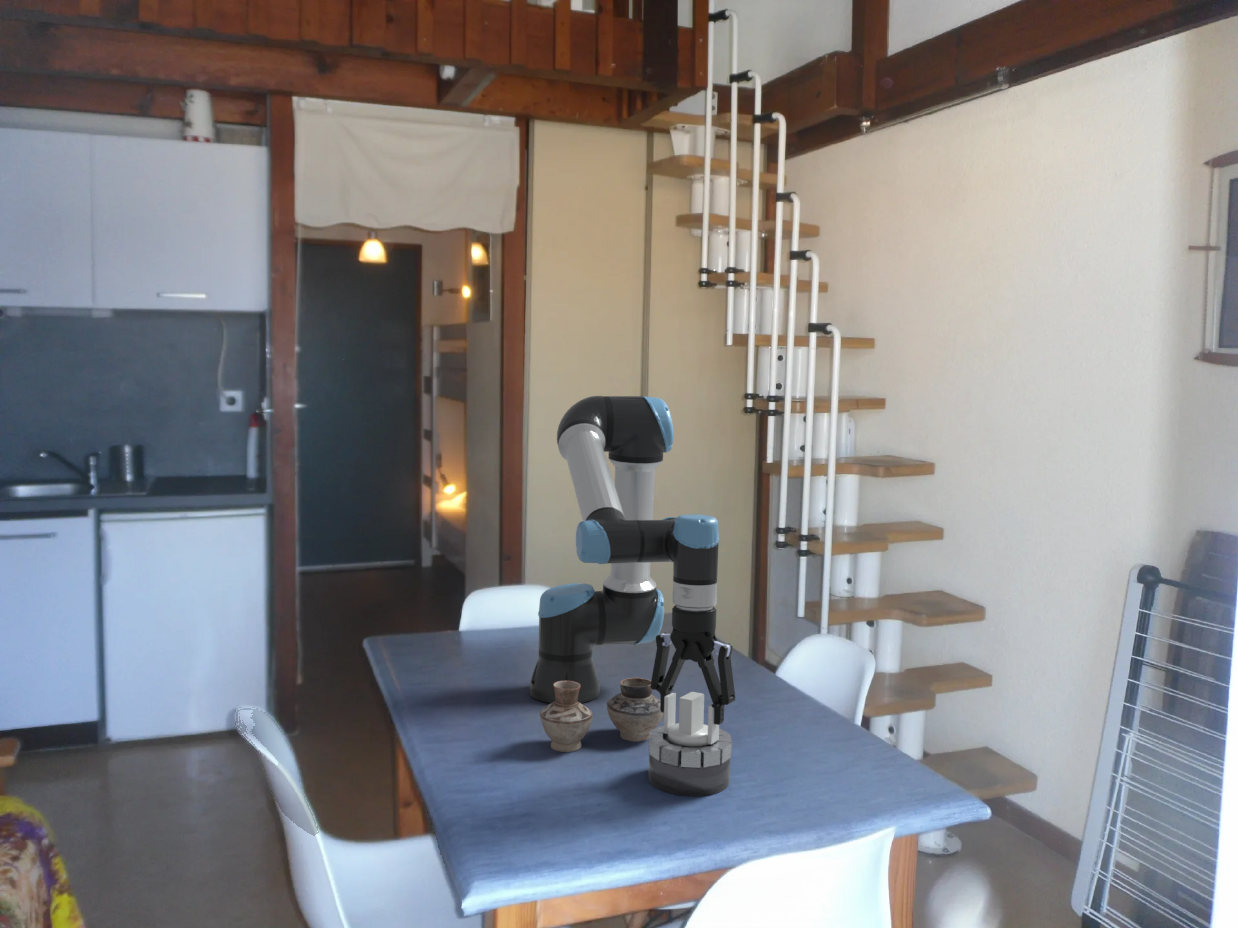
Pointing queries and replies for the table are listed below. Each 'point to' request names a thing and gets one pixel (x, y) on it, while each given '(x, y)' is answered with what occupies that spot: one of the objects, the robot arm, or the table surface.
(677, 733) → the cap
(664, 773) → the toothed ring drum
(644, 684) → the pottery
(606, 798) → the table surface
